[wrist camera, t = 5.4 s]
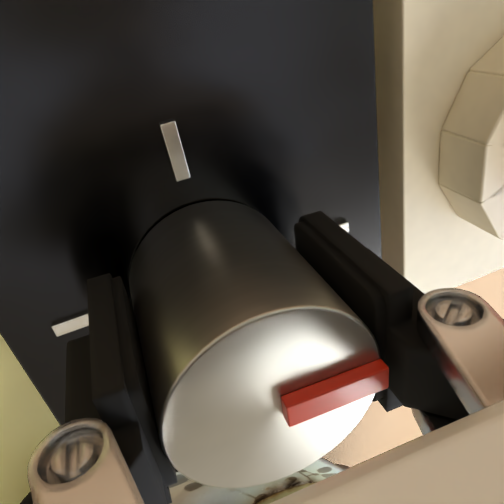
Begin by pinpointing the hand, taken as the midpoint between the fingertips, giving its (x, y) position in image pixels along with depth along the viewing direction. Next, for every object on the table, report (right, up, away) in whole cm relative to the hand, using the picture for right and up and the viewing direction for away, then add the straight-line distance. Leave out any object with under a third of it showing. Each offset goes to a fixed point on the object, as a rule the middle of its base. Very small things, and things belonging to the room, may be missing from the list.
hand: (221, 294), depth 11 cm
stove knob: (0, 0, +1) cm, 1 cm away
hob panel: (-1, +2, +3) cm, 4 cm away
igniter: (+9, +6, +5) cm, 12 cm away
